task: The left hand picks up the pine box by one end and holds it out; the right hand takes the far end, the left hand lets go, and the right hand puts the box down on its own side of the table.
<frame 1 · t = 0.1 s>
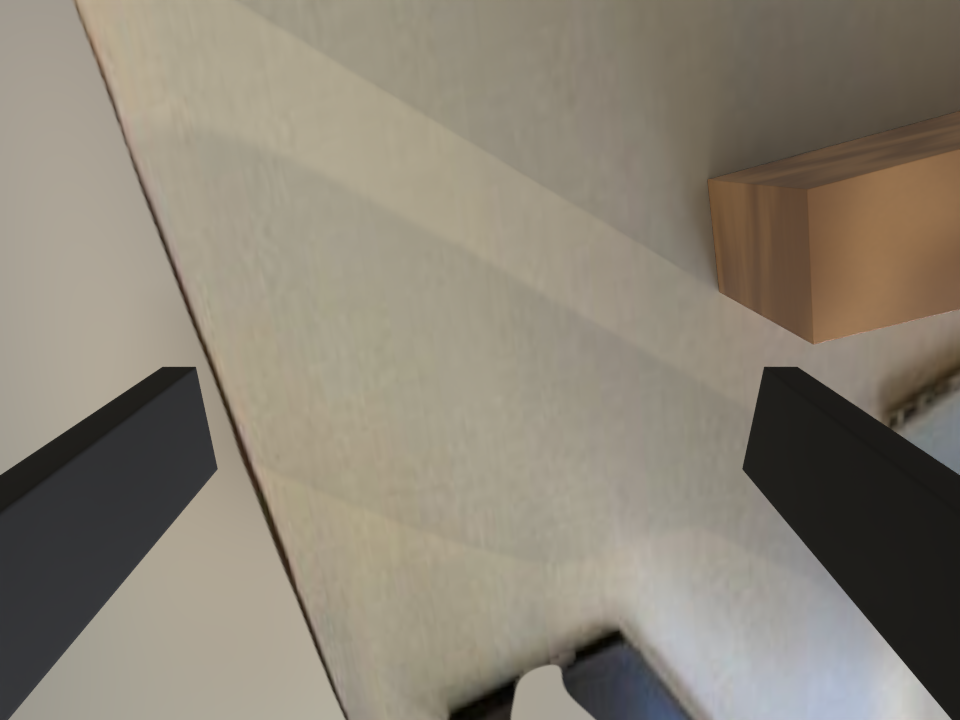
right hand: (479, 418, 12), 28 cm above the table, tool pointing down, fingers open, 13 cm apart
box: (921, 183, 37), on the table
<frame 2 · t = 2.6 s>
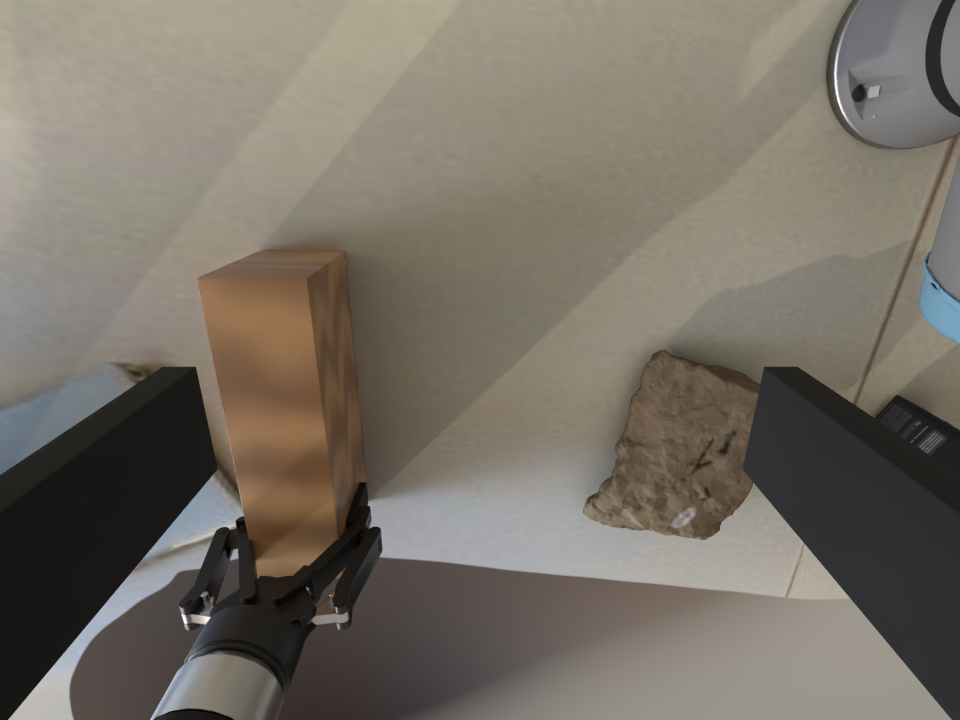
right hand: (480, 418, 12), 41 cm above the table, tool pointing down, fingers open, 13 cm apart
left hand: (322, 492, 58), fingers closed on box, 8 cm apart
stone: (667, 440, 59), on the table
graphics card box: (856, 461, 60), on the table
box: (318, 388, 57), on the table, touching left hand
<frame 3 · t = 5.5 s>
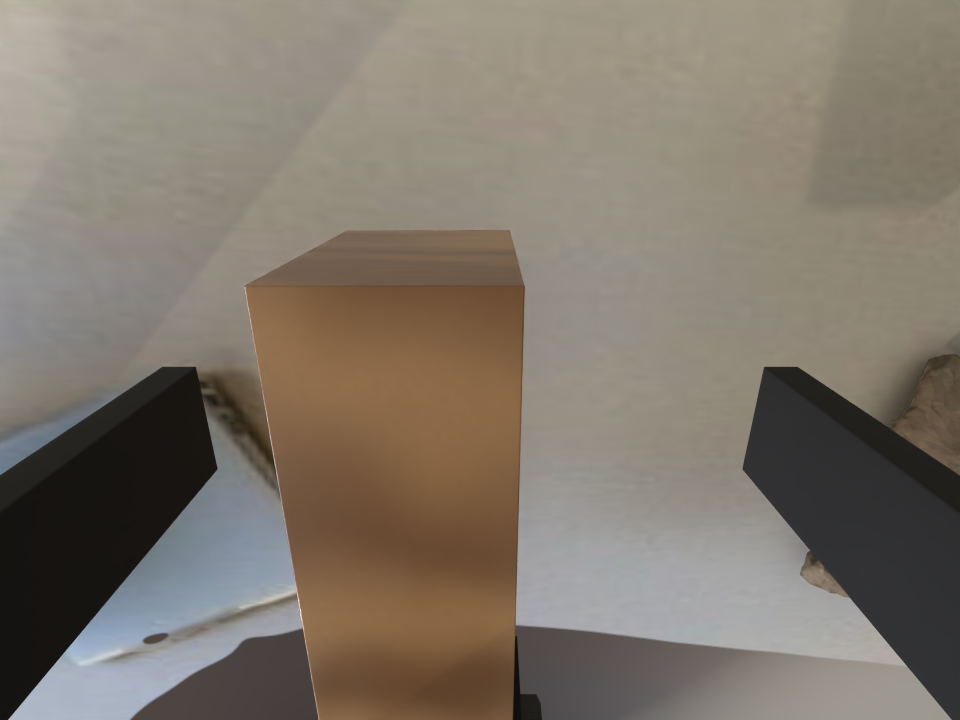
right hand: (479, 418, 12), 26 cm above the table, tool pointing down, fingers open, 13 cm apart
stone: (922, 477, 43), on the table
box: (437, 474, 32), point 10 cm above the table, touching left hand
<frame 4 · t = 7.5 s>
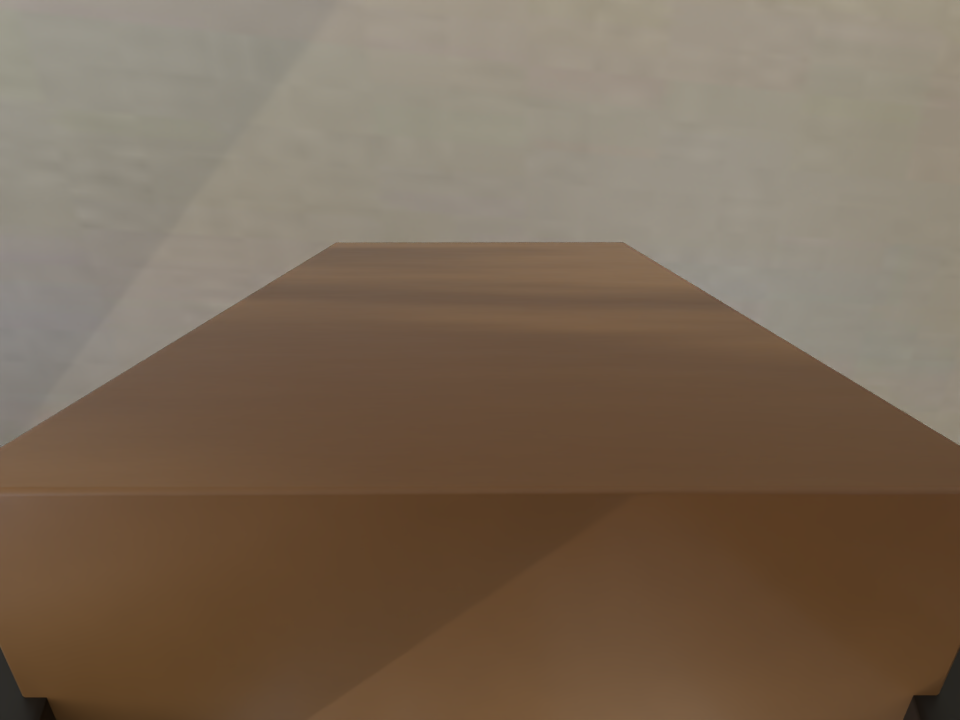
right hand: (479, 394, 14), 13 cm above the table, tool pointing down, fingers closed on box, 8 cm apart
box: (480, 620, 21), point 10 cm above the table, touching right hand, left hand
when the left hand's fingers open (13 cm above the table, at t = 8.5 s): box stays where it is, held by the right hand.
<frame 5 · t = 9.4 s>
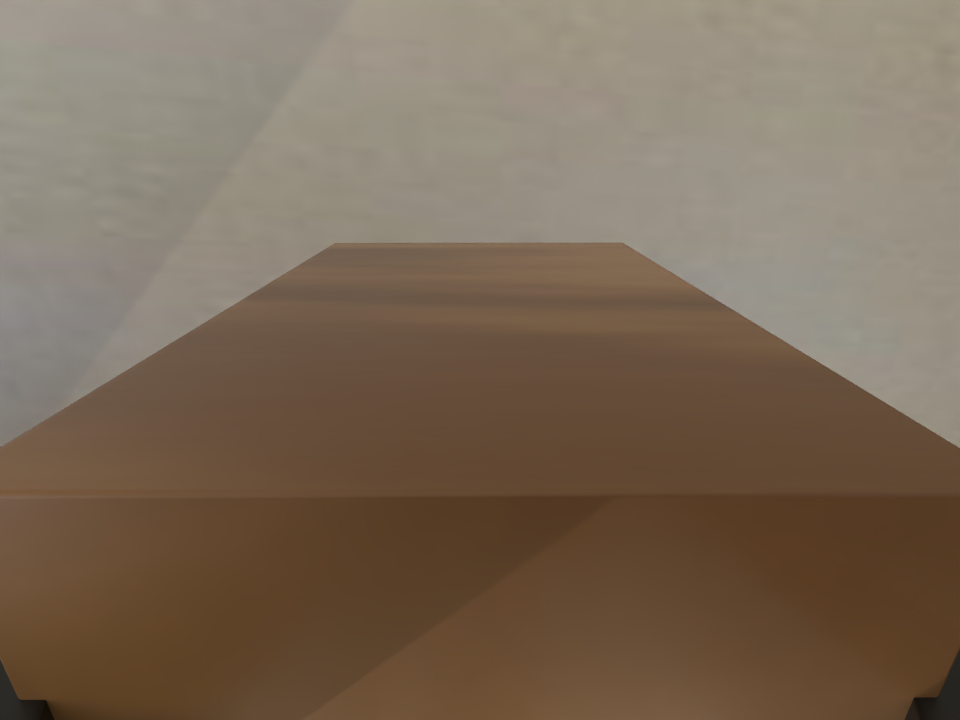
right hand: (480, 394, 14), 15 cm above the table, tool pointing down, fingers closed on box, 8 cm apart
box: (479, 621, 21), point 12 cm above the table, touching right hand
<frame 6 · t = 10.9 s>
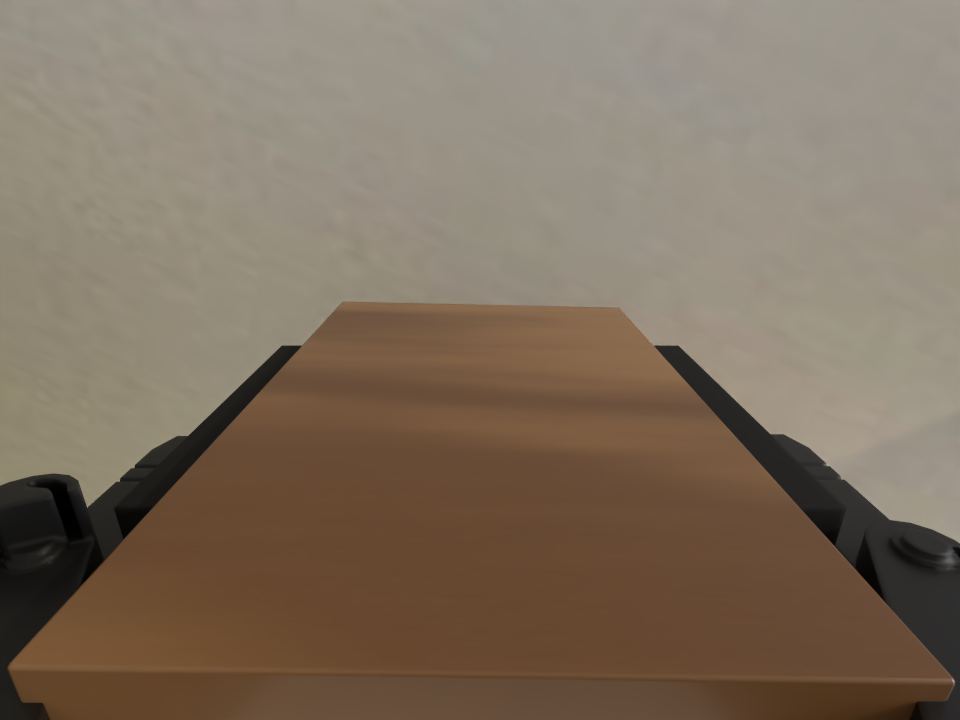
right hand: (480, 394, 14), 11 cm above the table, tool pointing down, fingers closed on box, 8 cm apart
box: (472, 655, 21), point 8 cm above the table, touching right hand
when the right hand's fingers open (4 cm above the table, at t = 12.0 s): box drops 1 cm, on the table.
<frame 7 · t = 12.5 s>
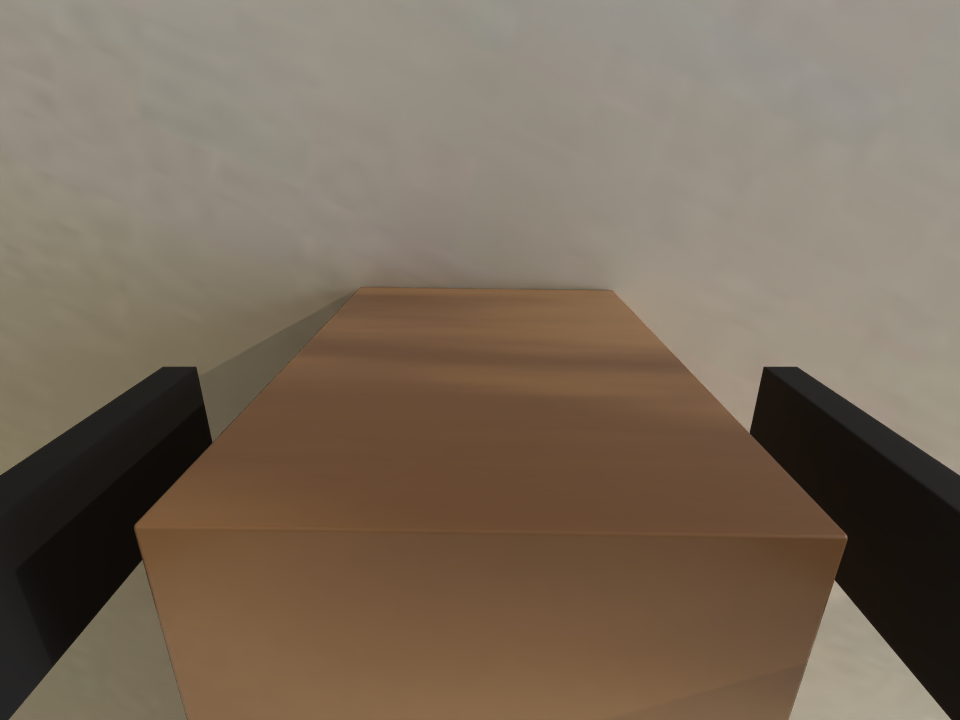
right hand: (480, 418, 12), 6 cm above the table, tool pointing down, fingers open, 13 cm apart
box: (481, 620, 23), on the table
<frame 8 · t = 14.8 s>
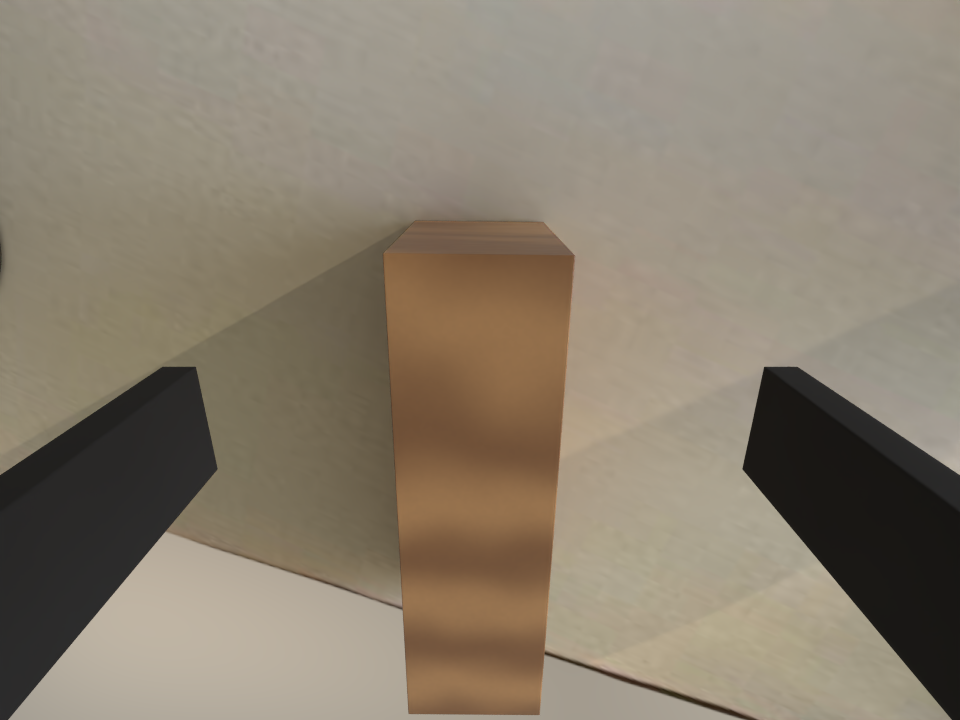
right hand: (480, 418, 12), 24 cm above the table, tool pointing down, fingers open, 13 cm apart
box: (477, 421, 40), on the table
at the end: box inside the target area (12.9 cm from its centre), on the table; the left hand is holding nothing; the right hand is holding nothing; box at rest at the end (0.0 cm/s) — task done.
